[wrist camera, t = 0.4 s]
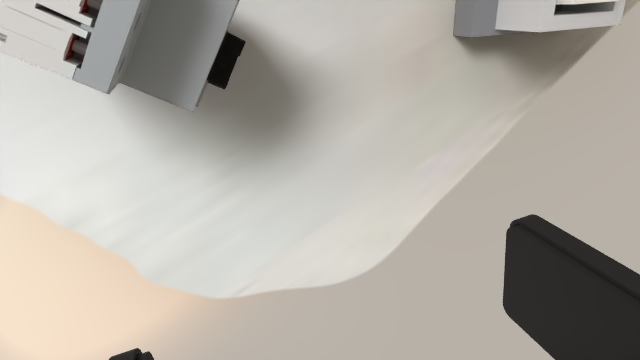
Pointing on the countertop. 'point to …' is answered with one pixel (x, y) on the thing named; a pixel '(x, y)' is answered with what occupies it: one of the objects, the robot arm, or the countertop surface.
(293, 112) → the countertop surface
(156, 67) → the circuit breaker
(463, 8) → the breaker panel
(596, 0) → the white cube insert
